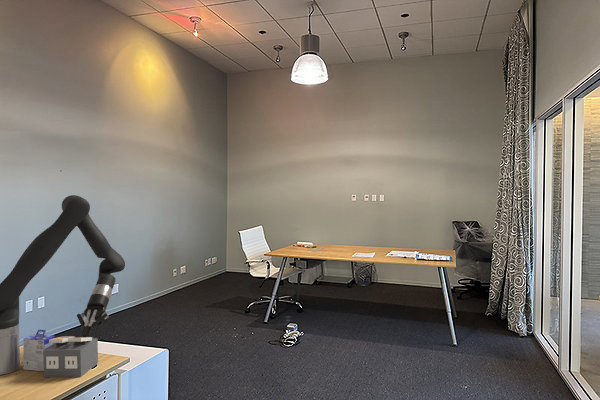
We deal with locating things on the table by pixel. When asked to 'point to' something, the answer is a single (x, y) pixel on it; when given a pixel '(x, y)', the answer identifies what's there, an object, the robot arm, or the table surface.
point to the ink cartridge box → (35, 350)
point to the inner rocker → (60, 339)
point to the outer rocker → (79, 339)
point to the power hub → (70, 358)
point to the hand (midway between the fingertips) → (85, 336)
